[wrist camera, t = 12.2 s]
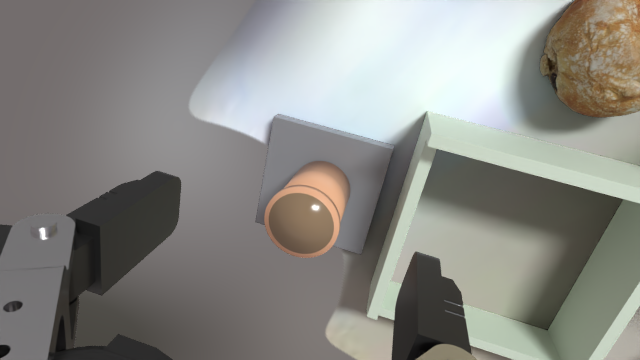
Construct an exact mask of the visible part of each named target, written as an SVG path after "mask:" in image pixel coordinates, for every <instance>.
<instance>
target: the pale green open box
mask: <svg viewBox="0 0 640 360" xmlns="http://www.w3.org/2000/svg"><path fill="white" fill-rule="evenodd" d="M437 149H440V150H443V151H447V152H451V153H454V154H458V155H462V156H466V157H469V158H473V159H477V160H480V161H484V162H488V163H492V164H495V165H499V166H503V167H506V168H510V169H514V170H518V171H521V172H525V173H529V174H532V175H536V176H540V177H543V178H547V179H551V180H555V181H558V182H562V183H566V184H569V185H573V186H577V187H581V188H584V189H588V190H592V191H595V192H599V193H603V194H607V195H610V196H614V197H618V198H621V199H623V201H622V203H621V204H620V206H619V208H618V209H617V211H616V213H615V215H614V216H613V218H612V220H611V222H610V223H609V225H608V227H607V228H606V230H605V232H604V234H603V235H602V237H601V239H600V241H599V242H598V244H597V246H596V247H595V249H594V251H593V253H592V254H591V256H590V258H589V260H588V261H587V263H586V265H585V266H584V268H583V270H582V272H581V273H580V275H579V277H578V279H577V280H576V282H575V284H574V286H573V287H572V289H571V291H570V292H569V294H568V296H567V298H566V299H565V301H564V303H563V305H562V306H561V308H560V310H559V311H558V313H557V315H556V317H555V318H554V320H553V322H552V324H551V325H550V327H549V329H548V330H545V329H541V328H538V327H535V326H532V325H529V324H526V323H522V322H519V321H516V320H513V319H510V318H507V317H503V316H500V315H497V314H494V313H491V312H488V311H484V310H481V309H478V308H475V307H472V306H469V305H465V304H463V308H464V313H465V318H466V324H467V330H468V336H469V342H470V345H471V346H474V347H477V348H480V349H483V350H486V351H489V352H492V353H495V354H498V355H501V356H504V357H507V358H510V359H513V360H603V359H604V358H605V356H606V355H607V354H608V352H609V351H610V349H611V348H612V346H613V345H614V343H615V342H616V340H617V339H618V337H619V336H620V334H621V333H622V331H623V330H624V328H625V327H626V325H627V324H628V323H629V321H630V320H631V318H632V317H633V315H634V314H635V312H636V311H637V309H638V308H639V306H640V166H638V165H634V164H630V163H626V162H623V161H619V160H615V159H611V158H607V157H603V156H599V155H595V154H592V153H588V152H584V151H580V150H576V149H572V148H568V147H565V146H561V145H557V144H553V143H549V142H545V141H541V140H537V139H534V138H530V137H526V136H522V135H518V134H514V133H510V132H507V131H503V130H499V129H495V128H491V127H487V126H483V125H479V124H476V123H472V122H468V121H464V120H460V119H456V118H452V117H449V116H445V115H441V114H437V113H433V112H429V111H427V113H426V116H425V119H424V122H423V125H422V129H421V132H420V135H419V138H418V141H417V144H416V147H415V150H414V153H413V156H412V159H411V162H410V165H409V168H408V171H407V174H406V177H405V180H404V183H403V186H402V190H401V193H400V196H399V199H398V202H397V205H396V208H395V211H394V214H393V217H392V220H391V223H390V226H389V229H388V232H387V235H386V238H385V241H384V244H383V247H382V251H381V254H380V257H379V260H378V263H377V266H376V269H375V272H374V275H373V278H372V281H371V286H370V292H369V298H368V304H367V310H366V311H367V317H369V318H372V319H375V320H377V318H378V315H379V316H382V317H385V318H388V319H391V320H394V317H395V306H396V301H397V297H398V293H399V290H400V288H401V285H402V284H399V283H396V282H393V281H391V278H392V276H393V273H394V270H395V267H396V264H397V261H398V258H399V256H400V253H401V250H402V247H403V244H404V241H405V239H406V236H407V233H408V230H409V227H410V224H411V221H412V219H413V216H414V213H415V210H416V207H417V204H418V202H419V199H420V196H421V193H422V190H423V187H424V184H425V182H426V179H427V176H428V173H429V170H430V167H431V165H432V162H433V159H434V156H435V153H436V150H437Z"/></svg>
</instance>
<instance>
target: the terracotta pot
mask: <svg viewBox="0 0 640 360" xmlns="http://www.w3.org/2000/svg"><path fill="white" fill-rule="evenodd" d="M350 192H351V190H350V183H349V180H348V178H347V176H346V175H345V173H344V172H343V171H342V170H341V169H340V168H339V167H337V166H336V165H334V164H332V163H329V162H325V161H313V162H310V163H307V164H305V165H304V166H302V167H301V168H300V169H299V170H298V172H297V173H296V174H295V175H294V176H293V178H292V179H291V180H290V181H289V182H288V184H287V185H286V186H285V187H284V188H283V189H282V190H280V191H279V192H278V193H277V194H276V195H275V196H274V197H273V198H272V199H271V200H270V202H269V203H268V205H267V207H266V210H265V216H264V222H265V227H266V230H267V233H268V235H269V237H270V238H271V240H272V241H273V242H274V243H275V244H276V245H277V246H278V247H279V248H280V249H281V250H283V251H284V252H286V253H288V254H290V255H293V256H296V257H302V258H310V257H316V256H319V255H321V254H323V253H325V252H326V251H328V250H329V249H330V248H331V247H332V246H333V245H334V243H335V241H336V239H337V236H338V234H339V231H340V223H341V219H342V216H343V214H344V211H345V209H346V206H347V203H348V201H349V198H350Z"/></svg>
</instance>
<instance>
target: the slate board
mask: <svg viewBox="0 0 640 360" xmlns="http://www.w3.org/2000/svg"><path fill="white" fill-rule="evenodd" d="M393 149H394V145H391V144H387V143H384V142H380V141H376V140H373V139H369V138H365V137H362V136H358V135H354V134H350V133H347V132H343V131H339V130H336V129H332V128H328V127H325V126H321V125H317V124H314V123H310V122H306V121H303V120H299V119H295V118H292V117H288V116H284V115H281V114H277V115H276V116H274V118H273V124H272V129H271V135H270V141H269V147H268V152H267V158H266V164H265V171H264V176H263V182H262V187H261V193H260V199H259V205H258V210H257V216H256V222H257V223H261V224H264V225H265V222H264V216H265V210H266V207H267V205H268V203H269V202H270V200H271V199H272V198H273V197H274V196H275V195H276V194H277V193H278V192H279V191H280V190H282V189H283V188H284V187H285V186H286V185H287V184H288V182H289V181H290V180H291V179H292V178H293V176H294V175H295V174H296V173H297V172H298V170H299V169H300V168H301V167H302V166H304V165H305V164H307V163H310V162H313V161H325V162H329V163H332V164H334V165H336V166H337V167H339V168H340V169H341V170H342V171H343V172H344V173H345V175H346V176H347V178H348V180H349V183H350V190H351V192H350V198H349V201H348V203H347V206H346V209H345V211H344V214H343V216H342V219H341V223H340V231H339V234H338V236H337V239H336V241H335V243H334V245H333V246H335V247H338V248H341V249H344V250H347V251H351V252H354V253H357V254H360V255H361V254H362V251H363V247H364V244H365V241H366V237H367V234H368V231H369V228H370V224H371V221H372V218H373V215H374V211H375V208H376V205H377V201H378V198H379V195H380V192H381V188H382V185H383V182H384V179H385V175H386V172H387V169H388V165H389V162H390V159H391V156H392V152H393Z"/></svg>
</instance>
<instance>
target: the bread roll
mask: <svg viewBox="0 0 640 360" xmlns="http://www.w3.org/2000/svg"><path fill="white" fill-rule="evenodd" d="M544 53H545V54H544V55H543V56H542V57H541V59H540V71H541V73H542V75H543V77H544V76H546V75H548V77H549V80H550V82H551V84H552V86H553V88H554V90H555V93H556V94H557V96H558V98H559V99H560V100H561V101H562V102H563V103H564V104H565V105H566V106H568V107H569V108H570V109H571V110H573V111H575V112H577V113H580V114H583V115H587V116H592V117H614V116H622V115H628V114H631V113H635V112H637V111H640V0H575V1H574V2H573V3H572V4H571V5H570V6H569V7H568V9H566V10H565V11H564V13H563V15H562V16H561V18H560V19H559V20H558V21H557V22H556V24H555V25H554V26H553V28H552V29H551V31H550V33H549V34H548V36H547V40H546V45H545V49H544Z"/></svg>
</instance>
